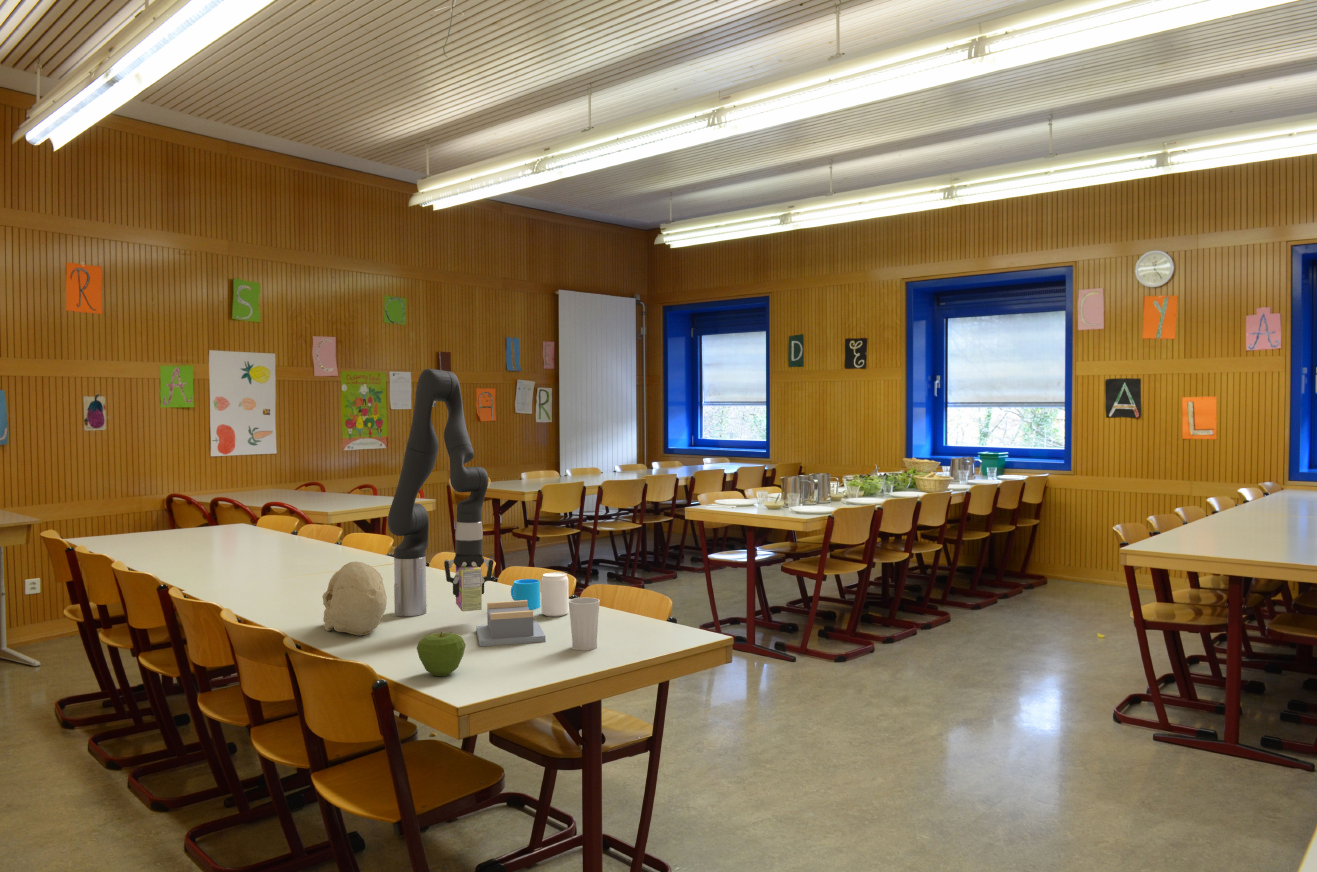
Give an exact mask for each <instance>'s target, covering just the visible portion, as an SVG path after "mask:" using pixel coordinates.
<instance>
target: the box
mask: <svg viewBox="0 0 1317 872" xmlns="http://www.w3.org/2000/svg"><path fill="white" fill-rule="evenodd" d="M457 571H459V580H458V582H457V583H458V597H455V604H456V605H457V607H458V608H459V609H460V610H461V612H473V611H482V608H483V607H482V602H483V600H482V599H483V597H482V596H483V594H482V575H483V570H482V568H481V567H462V568H460V567H459V569H458V568H457V566H456V565H455V573H456V572H457Z"/></svg>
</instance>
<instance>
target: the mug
mask: <svg viewBox="0 0 1317 872" xmlns="http://www.w3.org/2000/svg"><path fill="white" fill-rule="evenodd" d="M510 596H511V599H512V601H520V600H527V601H528V608H529V610H530V611H531V610H533V611H534V610H537V609H540V608H541V580H540V579H536V578H524V579H523V578H521V579H516V580H514V581H513V584H512V586H511V587H510Z"/></svg>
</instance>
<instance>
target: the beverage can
mask: <svg viewBox="0 0 1317 872" xmlns="http://www.w3.org/2000/svg"><path fill="white" fill-rule="evenodd" d="M567 575H568V574H567V573H566V572H560V571H559V572H557V571H556V572H555V571H554V572H546V573H543V574H542V577H541V580H540V608H541V614H542V615H543V616H546V617H562V616H565V615H567V614H568V613H570V610H569V600H570V598H569V596H570V595H569V578H568V576H567Z"/></svg>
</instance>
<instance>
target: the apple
mask: <svg viewBox="0 0 1317 872" xmlns="http://www.w3.org/2000/svg"><path fill="white" fill-rule="evenodd" d="M465 648H466V643H465V640H464V638H463V637H462V636H461V635H459V634H457V633H454V632H442V631H441V632H436V633H429V634H427V635H425V636H423V638H421V639H420V640H419V641H418V643H417V646H416V651H417V654H418V658H419V660H420V662H421V663H422V665H423V667H424V669H425V672H428V673H429V674H431V676H435V677H447V676H449V675H451V674H452V673H453V672H455V671H456V670H457V669H458V667H459V665H460V663H461V662H462V659H463V657H464V654H465V651H466V650H465Z"/></svg>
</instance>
